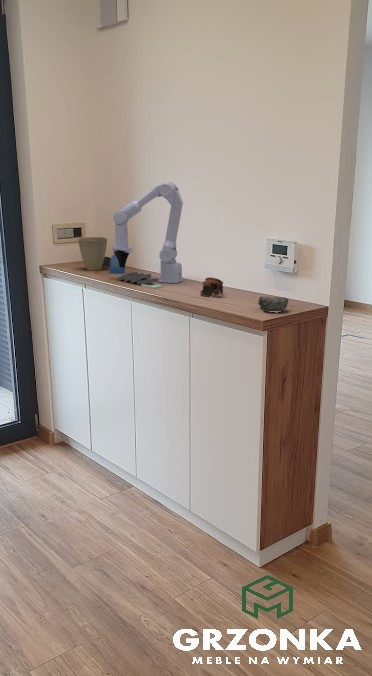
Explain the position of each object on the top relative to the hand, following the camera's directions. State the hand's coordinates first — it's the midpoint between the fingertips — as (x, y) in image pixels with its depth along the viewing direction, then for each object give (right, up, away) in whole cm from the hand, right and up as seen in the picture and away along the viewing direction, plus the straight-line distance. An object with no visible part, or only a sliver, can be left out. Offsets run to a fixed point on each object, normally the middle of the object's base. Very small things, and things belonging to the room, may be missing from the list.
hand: (122, 267), depth 274 cm
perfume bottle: (-5, 0, +22) cm, 23 cm away
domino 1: (0, -5, +1) cm, 5 cm away
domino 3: (+7, -7, -6) cm, 12 cm away
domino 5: (+12, -10, -12) cm, 20 cm away
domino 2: (+3, -6, -3) cm, 7 cm away
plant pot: (-18, +2, +31) cm, 36 cm away
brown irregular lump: (+41, -16, -34) cm, 55 cm away
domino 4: (+10, -8, -10) cm, 16 cm away
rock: (+61, -23, -60) cm, 88 cm away
